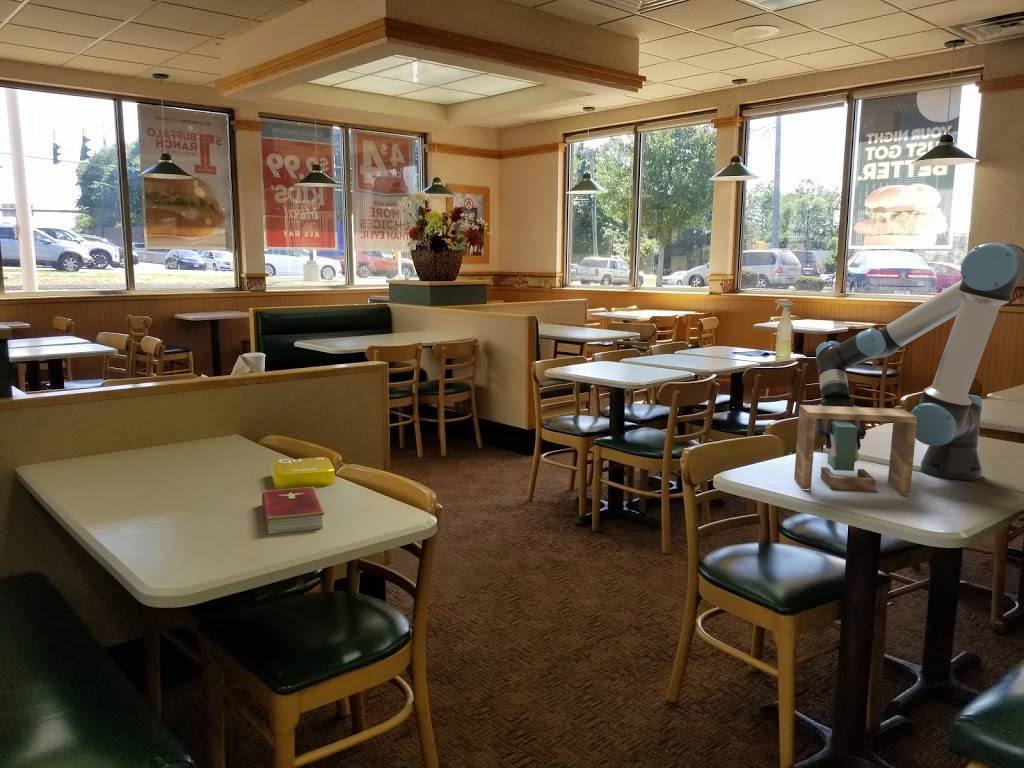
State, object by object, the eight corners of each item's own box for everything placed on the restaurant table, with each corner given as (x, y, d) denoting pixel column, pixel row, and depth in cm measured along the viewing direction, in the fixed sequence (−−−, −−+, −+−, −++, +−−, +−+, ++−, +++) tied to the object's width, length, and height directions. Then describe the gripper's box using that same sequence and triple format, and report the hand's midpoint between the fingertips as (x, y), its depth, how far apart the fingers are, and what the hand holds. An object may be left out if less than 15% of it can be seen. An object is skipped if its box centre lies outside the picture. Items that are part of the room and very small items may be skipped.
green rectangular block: (846, 463, 216) (849, 421, 214) (853, 471, 208) (857, 427, 206) (827, 462, 217) (830, 420, 215) (834, 470, 209) (837, 426, 207)
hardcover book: (266, 536, 161) (265, 517, 161) (262, 507, 181) (261, 489, 180) (324, 530, 165) (324, 511, 165) (314, 502, 185) (314, 485, 184)
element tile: (275, 491, 193) (274, 473, 193) (271, 476, 207) (270, 458, 206) (336, 486, 199) (335, 468, 198) (327, 471, 213) (327, 454, 212)
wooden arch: (892, 481, 209) (898, 407, 206) (909, 496, 195) (917, 416, 192) (792, 476, 213) (797, 403, 210) (802, 490, 199) (808, 412, 196)
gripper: (864, 397, 223) (876, 467, 210) (799, 395, 226) (807, 463, 213) (871, 382, 217) (884, 453, 204) (804, 380, 220) (812, 449, 207)
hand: (844, 458), depth 208 cm, fingers closed on green rectangular block, 5 cm apart
